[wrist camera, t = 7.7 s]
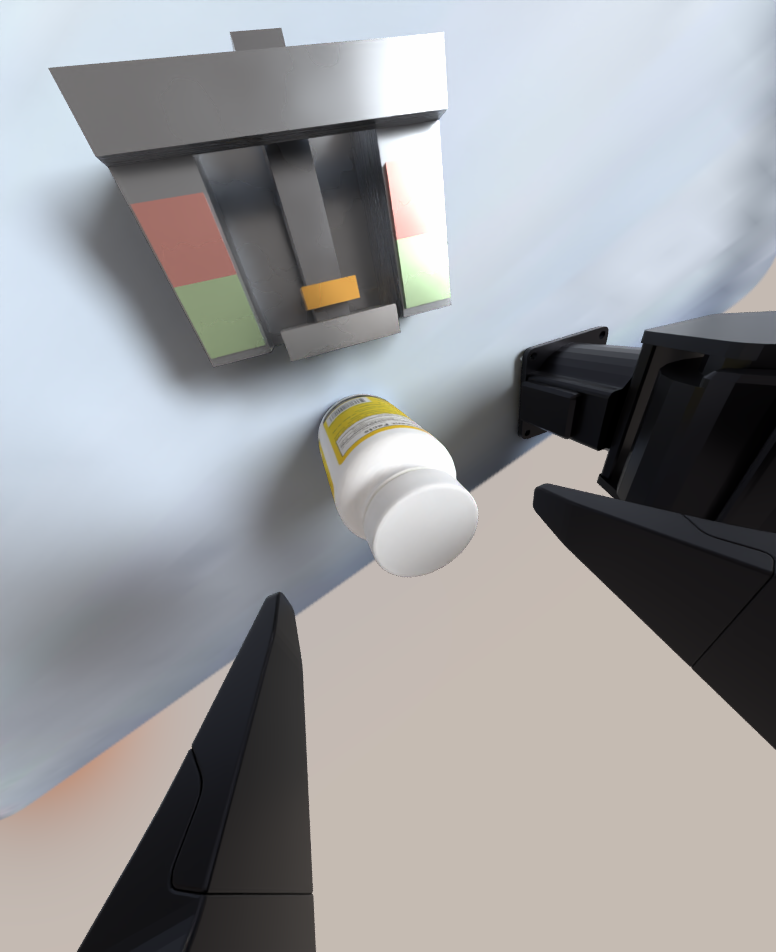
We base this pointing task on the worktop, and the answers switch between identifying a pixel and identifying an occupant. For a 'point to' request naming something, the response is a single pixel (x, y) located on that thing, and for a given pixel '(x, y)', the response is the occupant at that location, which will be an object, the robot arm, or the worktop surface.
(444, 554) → the supplement bottle
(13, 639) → the worktop surface
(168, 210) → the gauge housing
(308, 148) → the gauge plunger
